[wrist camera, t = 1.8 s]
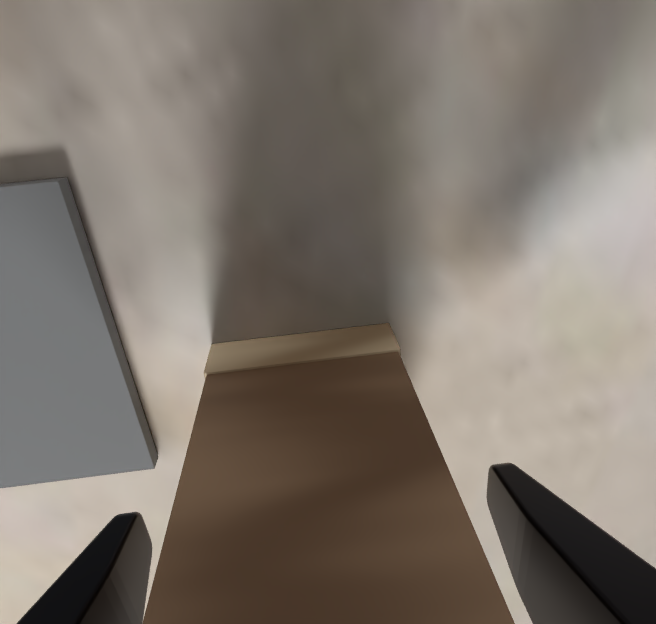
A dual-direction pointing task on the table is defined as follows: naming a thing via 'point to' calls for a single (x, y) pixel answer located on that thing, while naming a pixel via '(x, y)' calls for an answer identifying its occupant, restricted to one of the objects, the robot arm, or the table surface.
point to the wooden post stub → (318, 495)
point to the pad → (60, 349)
